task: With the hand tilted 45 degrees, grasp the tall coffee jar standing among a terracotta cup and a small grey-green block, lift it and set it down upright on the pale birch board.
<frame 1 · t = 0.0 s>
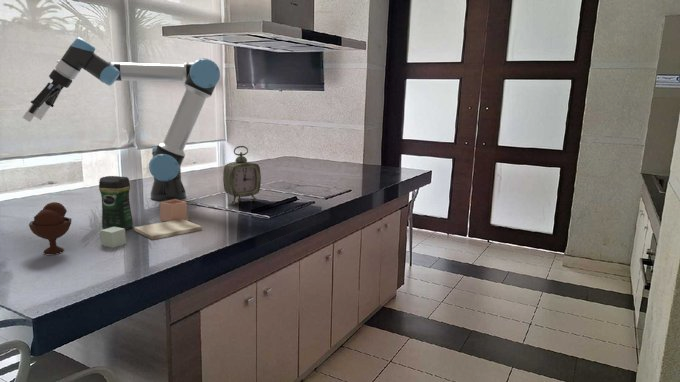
hand: (32, 118, 190), 36 cm above the countertop, tool tilted 35°, fingers open, 13 cm apart
ice cream bowl: (53, 252, 147), on the countertop
grey-green block: (113, 244, 155), on the countertop
terracotta cup: (174, 219, 185), on the countertop
coffee jar: (117, 228, 173), on the countertop
tabletop clock: (241, 202, 217), on the countertop
birch board: (168, 230, 172), on the countertop
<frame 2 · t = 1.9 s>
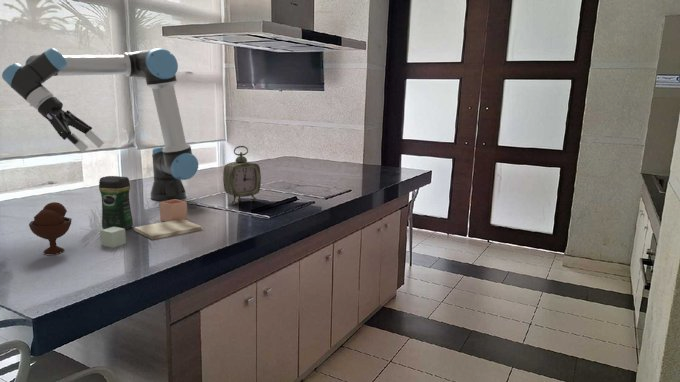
hand: (94, 147, 173), 28 cm above the countertop, tool tilted 45°, fingers open, 13 cm apart
nothing on the countertop moved.
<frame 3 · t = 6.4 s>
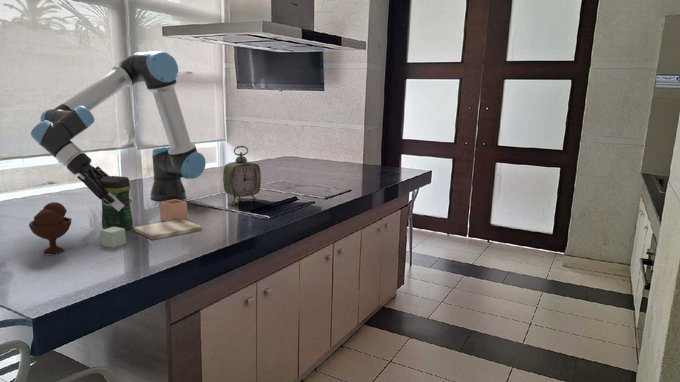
hand: (126, 205, 172), 8 cm above the countertop, tool tilted 45°, fingers closed on coffee jar, 8 cm apart
coffee jar: (117, 228, 173), on the countertop, touching gripper
everything else where it was.
when the fingers open (11 cm above the countertop, at t = 12.2 s): coffee jar drops 1 cm, resting on birch board.
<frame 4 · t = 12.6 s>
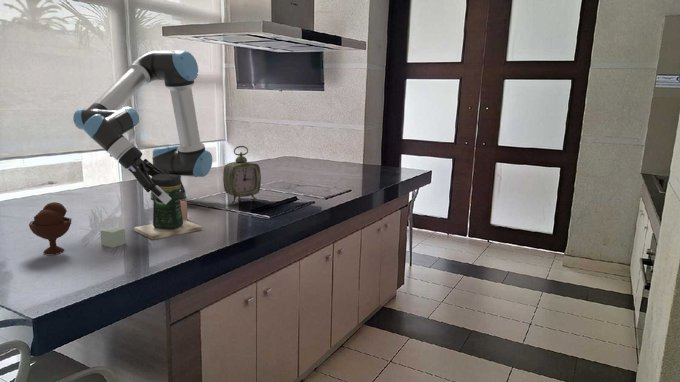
hand: (173, 197, 169), 12 cm above the countertop, tool tilted 45°, fingers open, 13 cm apart
coffee jar: (168, 227, 172), point 1 cm above the countertop, touching birch board
everything else where it was.
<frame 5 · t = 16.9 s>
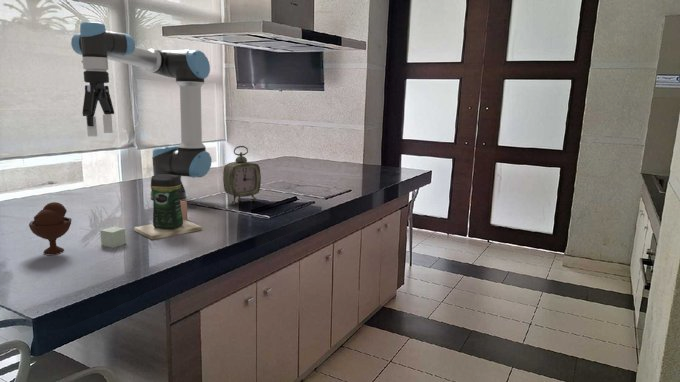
hand: (100, 134, 168), 33 cm above the countertop, tool pointing down, fingers open, 13 cm apart
nothing on the countertop moved.
at the end: coffee jar inside the target area on the birch board (0.4 cm from its centre), point 1.0 cm above the birch board's base; coffee jar tilted 0°; the gripper is holding nothing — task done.
